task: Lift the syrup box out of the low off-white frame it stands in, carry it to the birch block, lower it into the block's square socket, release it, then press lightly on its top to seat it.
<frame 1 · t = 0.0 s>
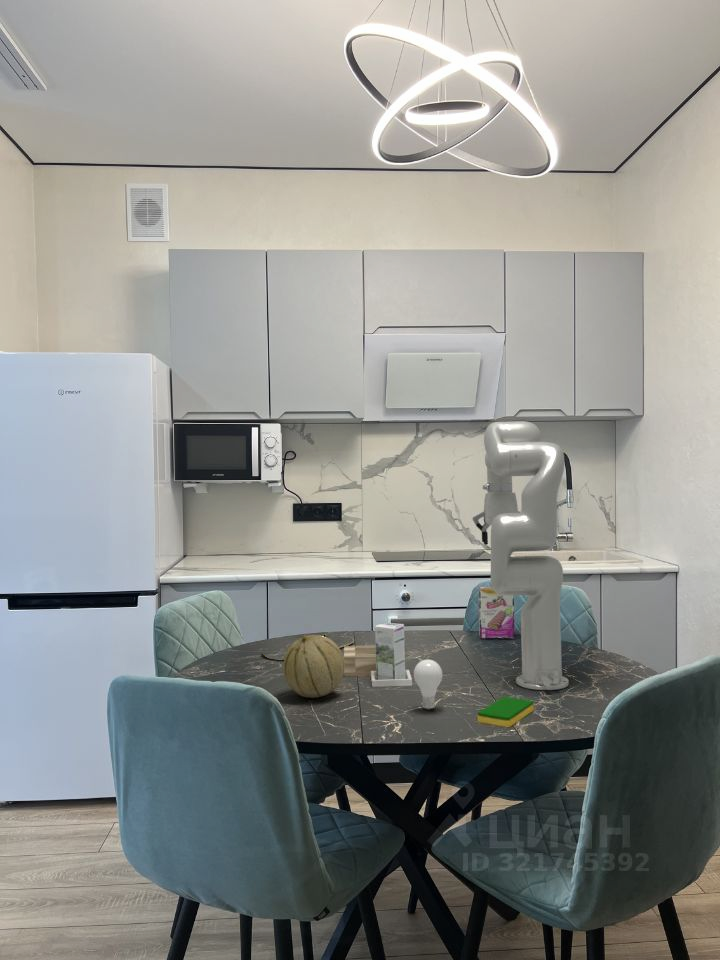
hand: (501, 544, 229), 31 cm above the table, tool pointing down, fingers open, 9 cm apart
cantaloupe: (314, 697, 177), on the table
lightbulb: (428, 710, 165), on the table
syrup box: (391, 681, 190), resting in stand frame
candy bar box: (497, 639, 239), on the table
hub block: (370, 669, 203), on the table
stand frame: (391, 681, 190), on the table
serving platter: (309, 651, 230), on the table
dish sponge: (506, 718, 159), on the table
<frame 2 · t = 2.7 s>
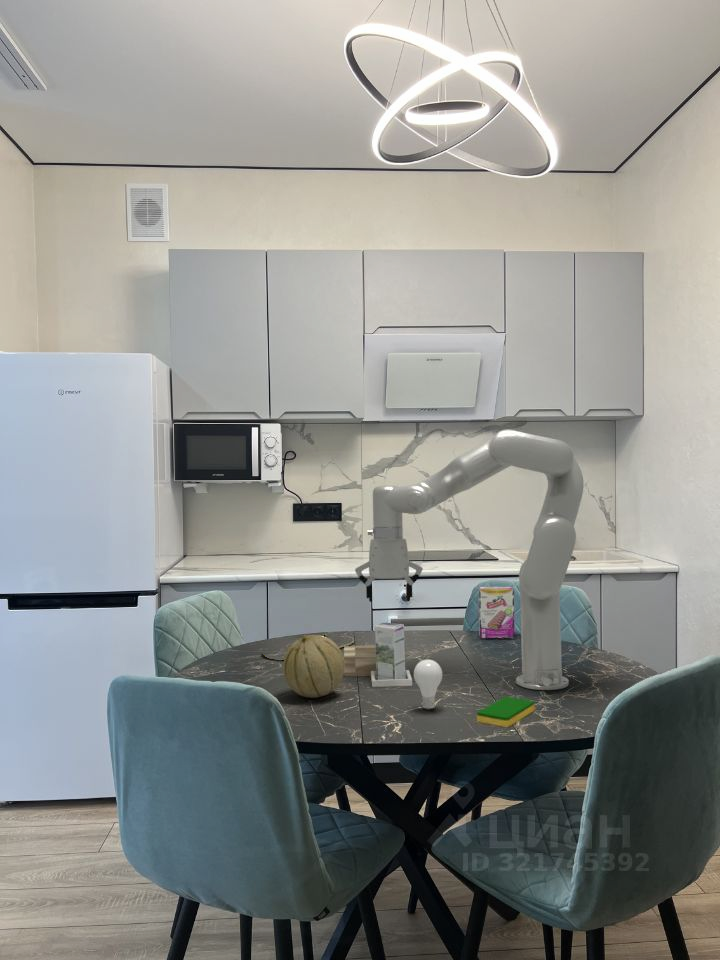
hand: (389, 600, 190), 21 cm above the table, tool pointing down, fingers open, 9 cm apart
nothing on the table moved.
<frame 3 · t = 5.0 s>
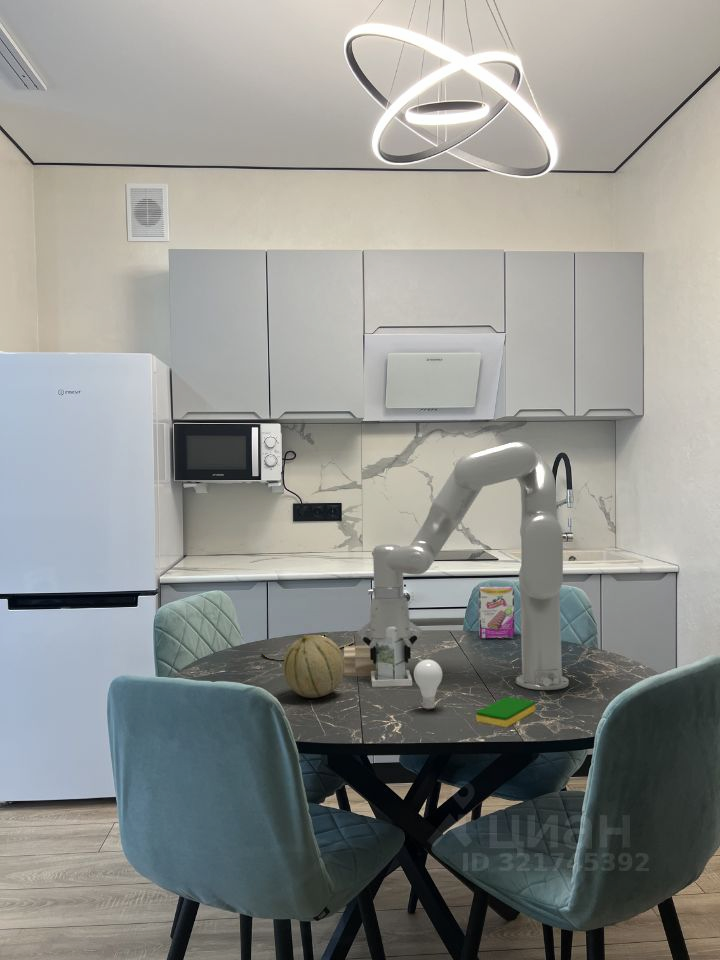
hand: (390, 661, 190), 5 cm above the table, tool pointing down, fingers closed on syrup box, 7 cm apart
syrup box: (391, 681, 190), resting in stand frame, touching gripper
everything else where it was.
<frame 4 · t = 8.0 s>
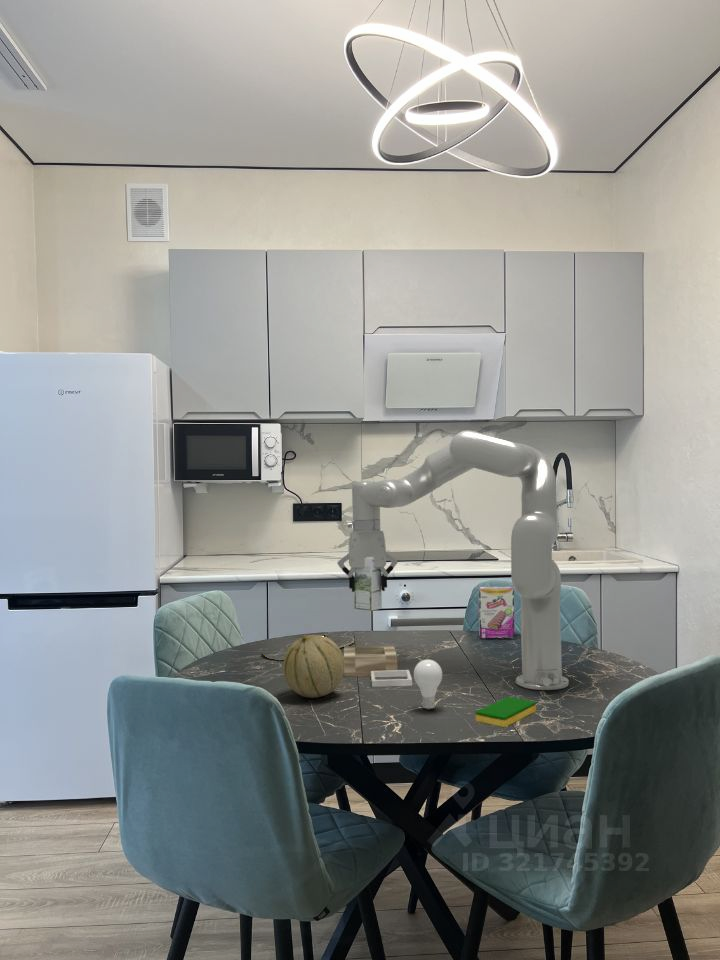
hand: (368, 590, 203), 22 cm above the table, tool pointing down, fingers closed on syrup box, 7 cm apart
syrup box: (368, 609, 203), point 16 cm above the table, touching gripper
everything else where it was.
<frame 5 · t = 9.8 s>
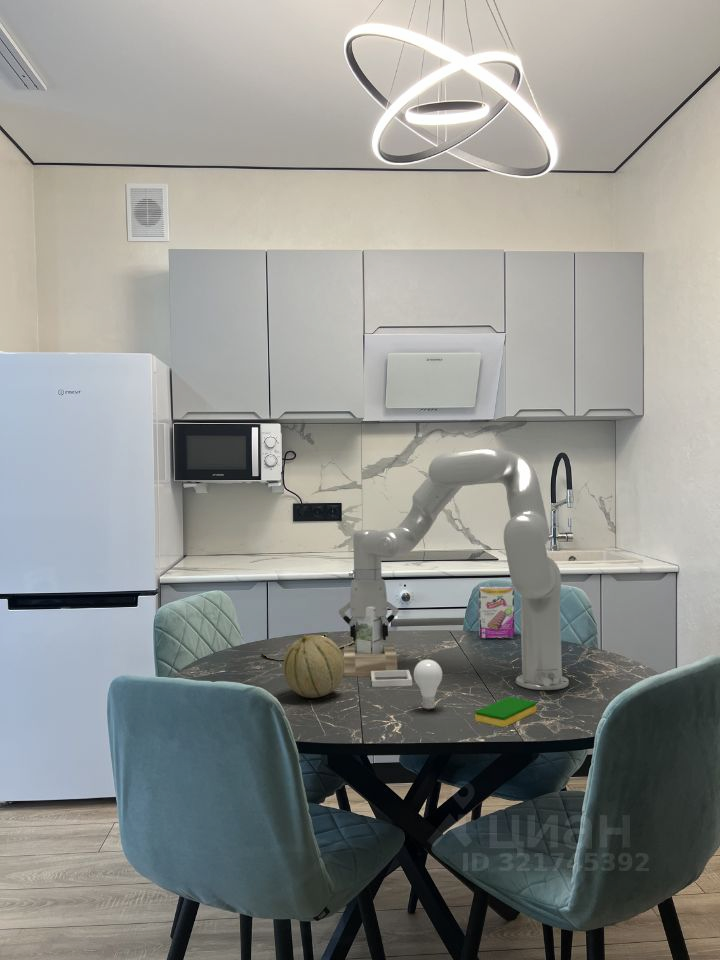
hand: (369, 639, 203), 8 cm above the table, tool pointing down, fingers closed on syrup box, 7 cm apart
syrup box: (368, 658, 203), point 3 cm above the table, touching gripper
everything else where it was.
when the fingers open (6 cm above the table, at t = 11.2 s): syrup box stays where it is, resting on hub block.
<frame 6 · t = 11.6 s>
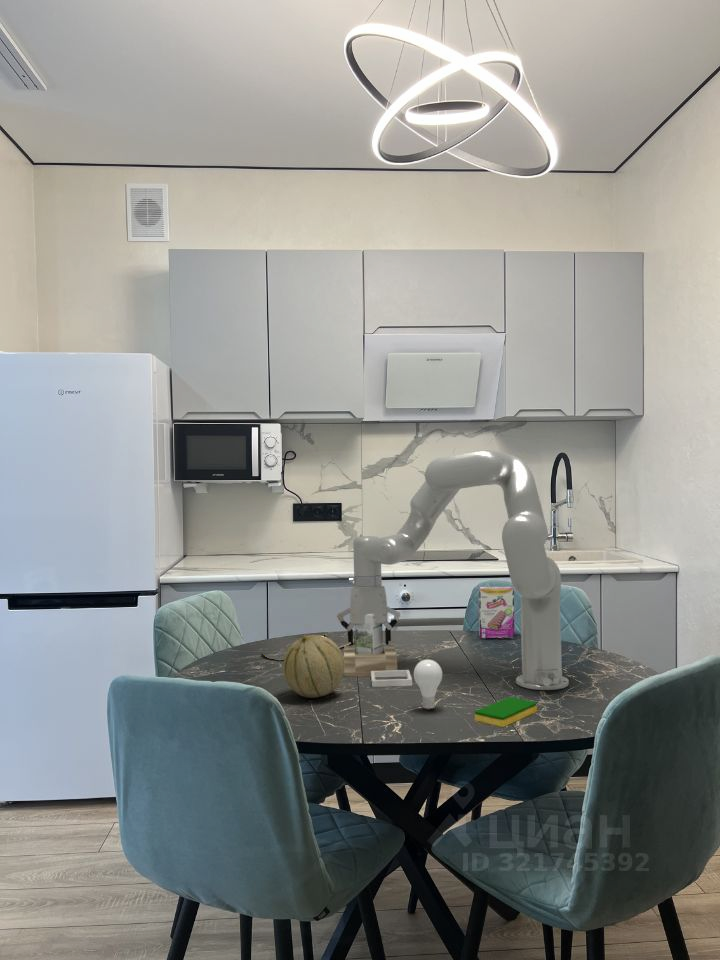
hand: (369, 644, 203), 7 cm above the table, tool pointing down, fingers open, 9 cm apart
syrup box: (369, 665, 203), point 1 cm above the table, touching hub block
everything else where it was.
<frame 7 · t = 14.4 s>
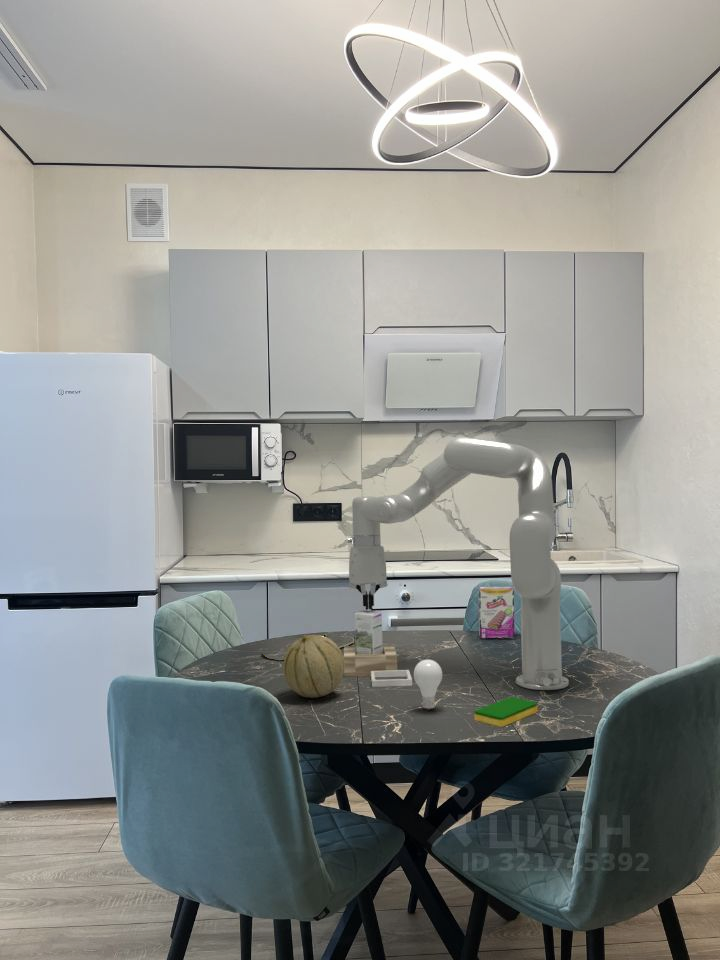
hand: (368, 608, 203), 17 cm above the table, tool pointing down, fingers closed
nothing on the table moved.
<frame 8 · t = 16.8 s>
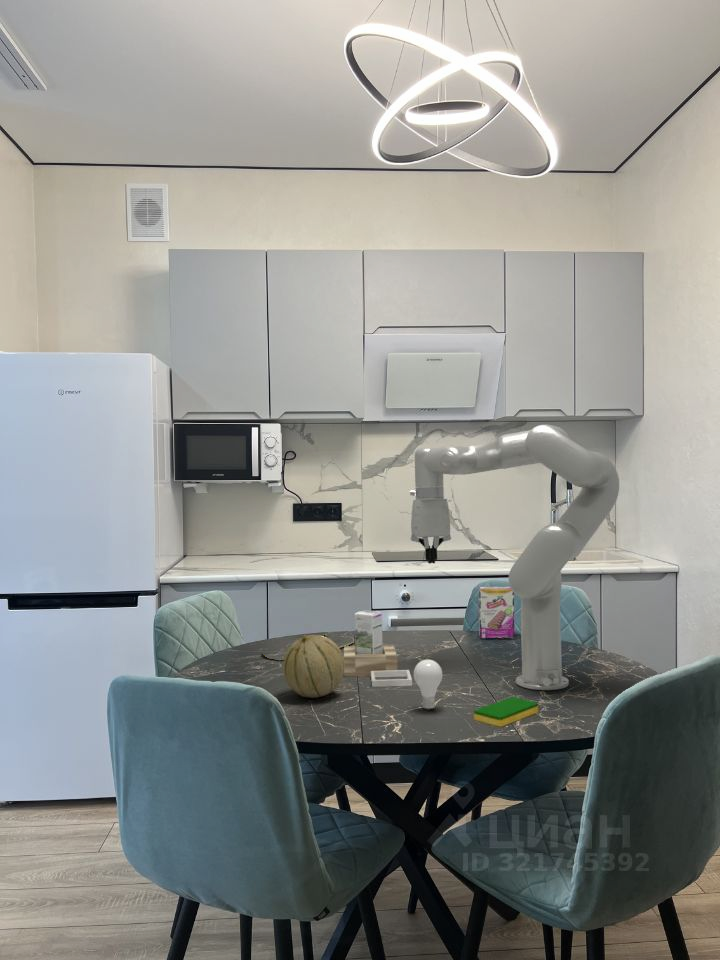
hand: (431, 562, 198), 29 cm above the table, tool pointing down, fingers closed
nothing on the table moved.
at the end: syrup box 0.1 cm off-centre on the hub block, point 1.0 cm above the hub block's base; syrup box tilted 0°; the gripper is holding nothing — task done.
